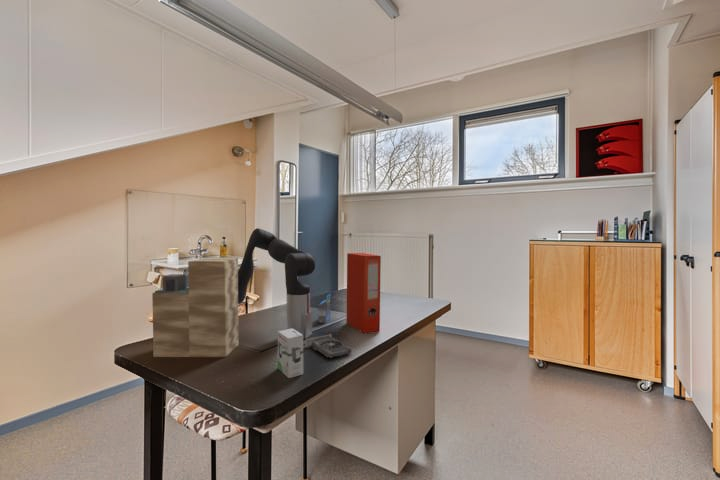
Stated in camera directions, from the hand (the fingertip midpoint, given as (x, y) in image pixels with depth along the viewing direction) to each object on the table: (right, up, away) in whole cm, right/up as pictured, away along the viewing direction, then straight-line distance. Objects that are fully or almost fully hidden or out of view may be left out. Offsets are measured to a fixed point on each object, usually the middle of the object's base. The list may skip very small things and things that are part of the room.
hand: (209, 269), depth 137 cm
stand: (+6, -27, -21) cm, 35 cm away
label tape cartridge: (+46, -26, +18) cm, 56 cm away
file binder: (+64, -26, +7) cm, 70 cm away
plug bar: (0, -4, -17) cm, 18 cm away
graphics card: (+52, -28, -22) cm, 62 cm away
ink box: (+42, -28, -38) cm, 63 cm away
